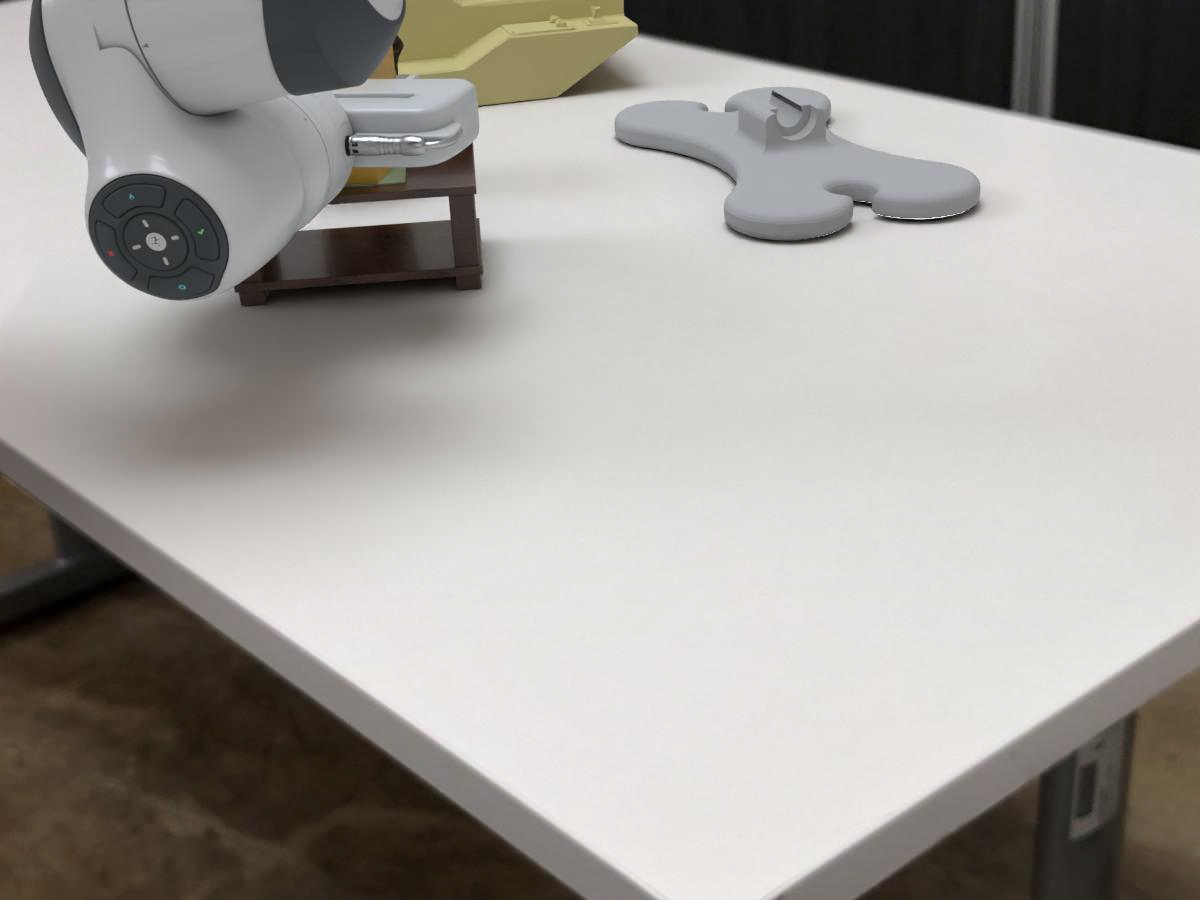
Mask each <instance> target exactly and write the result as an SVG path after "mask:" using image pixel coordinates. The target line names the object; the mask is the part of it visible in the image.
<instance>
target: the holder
mask: <svg viewBox="0 0 1200 900" xmlns="http://www.w3.org/2000/svg"><path fill="white" fill-rule="evenodd" d="M831 114H832V104H831V100H830V99H829V97H828V96H827V95H825V94H824V93H823V92H820V91H818V90H815V89H810V88H805V87H797V86H767V87H759V88H758V87H757V88H752V89H748V90H743V91H740V92H737V93H735V94H733V95H731V96H730V97H729V98H728V99H727V100H726V101H725V103H724V111H723V112H722V111H721V112H720V111H719V112H718V111H709V107H708V106H707V104H705V103H703V102H699V101H694V100H693V101H692V100H681V99H680V100H675V99H673V100H672V99H670V100H668V99H667V100H655V101H647V102H642V103H638V104H634V105H631V106H628V107H626V108H624V109H622V110H621V111H619V112H618V113H617V115H616V117H614V122H613V123H614V133H615V135H616V137H617V138H618V140H620V141H622V142H623V143H625V144H627V145H631V146H634V147H639V148H645V149H651V150H652V149H653V150H658V151H659V150H660V151H665V152H670V153H675V154H679V155H683V156H686V157H691V158H693V159H697V160H700V161H702V162H705V163H707V164H710V165H712V166H715V167H716V168H718V169H720V170H722V171H723V172H725V173H726V174H727V175H729V176H730V177H731V178H732V179H733V181H734V182H735V186H734V188H733V190H731V192H730V193H729V194H728V195H727V196H726V197H725V200H724V203H723V217H724V220H725V222H726V223H727V225H728V226H729V227H731V228H732V229H733V230H734V231H736V232H738V233H740V234H743V235H746V236H749V237H753V238H756V239H761V240H762V239H763V240H770V241H771V240H772V241H798V240H797V239H804V240H807V239H806V238H812V239H814V238H813V237H818V236H823V235H826V234H830V233H832V232H834V231H837V232H839V231H841V230H842V229H841V228H843V229H844V228H845V227H847V226H848V225H849V224H850V222H851V221H852V218H853V216H854V202H853V201H865V202H871V203H872V204H871V208H872V212H873V213H874V214H875V215H877V214H880V215H883V216H891V217H900V218H932V217H941V216H947V215H953V214H957V213H961V212H963V211H966V210H968V209H970V208H972V207H973V206H974V207H975V206H976V205H978V203H979V200H980V197H981V182H980V179H979V178H978V177H977V175H976V174H975V173H973V172H972V171H971V170H969V169H967V168H965V167H962V166H959V165H955V164H951V163H946V162H941V161H934V160H928V159H927V160H926V159H920V158H913V157H908V156H902V155H897V154H892V153H889V152H884V151H880V150H876V149H872V148H869V147H867V146H863V145H860V144H857V143H854V142H851V141H849V140H847V139H844V138H843V137H841V136H839V135H837V134H835V133H833V132H832V131H831V130H830V129H829V128H828V127H827V121H828V120H829V119H830V118H831ZM974 207H973V208H974ZM973 208H972V209H973ZM970 210H971V209H970ZM968 211H969V210H968ZM848 223H849V224H848ZM847 224H848V225H847ZM840 229H841V230H840ZM838 230H839V231H838ZM832 234H833V233H832ZM830 235H831V234H830ZM823 237H824V236H823ZM818 238H819V237H818Z"/></svg>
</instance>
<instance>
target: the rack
mask: <svg viewBox="0 0 1200 900" xmlns="http://www.w3.org/2000/svg"><path fill="white" fill-rule="evenodd" d="M475 164H476V163H475V148H474V141H473V142H472V143H471V144H470V145H469V146H467V147H466V148H465V149H464V150H462V151H461V152H459V153H458V154H456V155H455V156H453V157H452V158H450V159H448V160H446V161H444V162H442V163H439V164H435V165H431V166H425V167H394V168H393V169H392V170H391V171H390V172H389V173H388V174H387V175H386V176H385V177H384V178H383V179H382V180H381V181H380V182H379V183H378V184H345V186H344V187H343V189H342V190H341V191H340V192H339V194H338V195H337V196H336V197H335V198H334V199H333V200H332V201H331V202H330V203H328V204H327V205H326V206H332V205H346V204H359V203H373V202H386V201H401V200H414V199H415V200H416V199H428V198H442V197H443V198H444V197H448V208H449V217H450V219H444V220H443V219H442V220H429V221H417V222H416V221H415V222H414V221H413V222H402V223H401V222H399V223H390V224H389V223H386V224H376V225H375V224H374V225H373V224H372V225H359V226H347V227H345V226H343V227H332V228H317V229H304V230H299V231H297V232H296V233H294V235H293V236H292V238H291V239H290V241H289V242H288V243H287V244H286V245H285V247H284V248H283V249H282V250H281V251H280V252H279V253H278V254H277V255H275V256H274V257H273V258H272V259H271V260H270V261H269V262H267V263H266V264H265V265H264V266H263V267H261V268H260V269H259V270H258V271H256V272H255V273H254V274H252V275H251V276H249V277H248V278H246V279H245V280H244V281H242V282H241V283H239V284H237V285H236V286H234V287H233V289H234V293H235V294H238V297H239V304H240V306H241V307H245V306H256V305H265V304H266V302H267V299H268V298H267V297H268V291H278V290H290V289H291V290H292V289H293V290H295V289H306V288H307V289H308V288H321V287H332V286H347V285H358V284H359V285H361V284H372V283H386V282H387V283H388V282H401V281H414V280H426V279H427V280H428V279H429V280H430V279H440V278H453V277H454V278H455V283H456V290H457V291H458V290H473V289H482V276H481V275H484V263H483V262H484V261H483V249H482V235H481V233H482V232H481V222H480V218H479V217H477V208H476V197H475V195H477V194H478V193H477V192H478V191H477V179H476V178H477V177H476V165H475Z"/></svg>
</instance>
